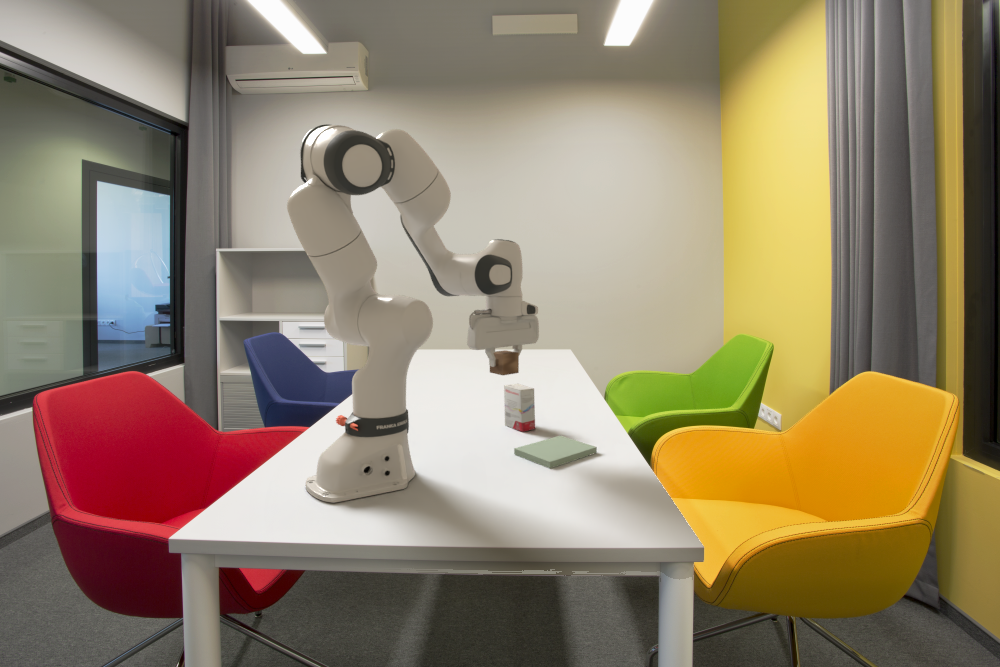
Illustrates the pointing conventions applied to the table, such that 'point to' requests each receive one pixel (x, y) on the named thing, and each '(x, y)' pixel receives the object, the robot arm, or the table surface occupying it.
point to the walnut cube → (506, 363)
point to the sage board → (555, 451)
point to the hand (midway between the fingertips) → (504, 364)
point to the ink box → (519, 407)
